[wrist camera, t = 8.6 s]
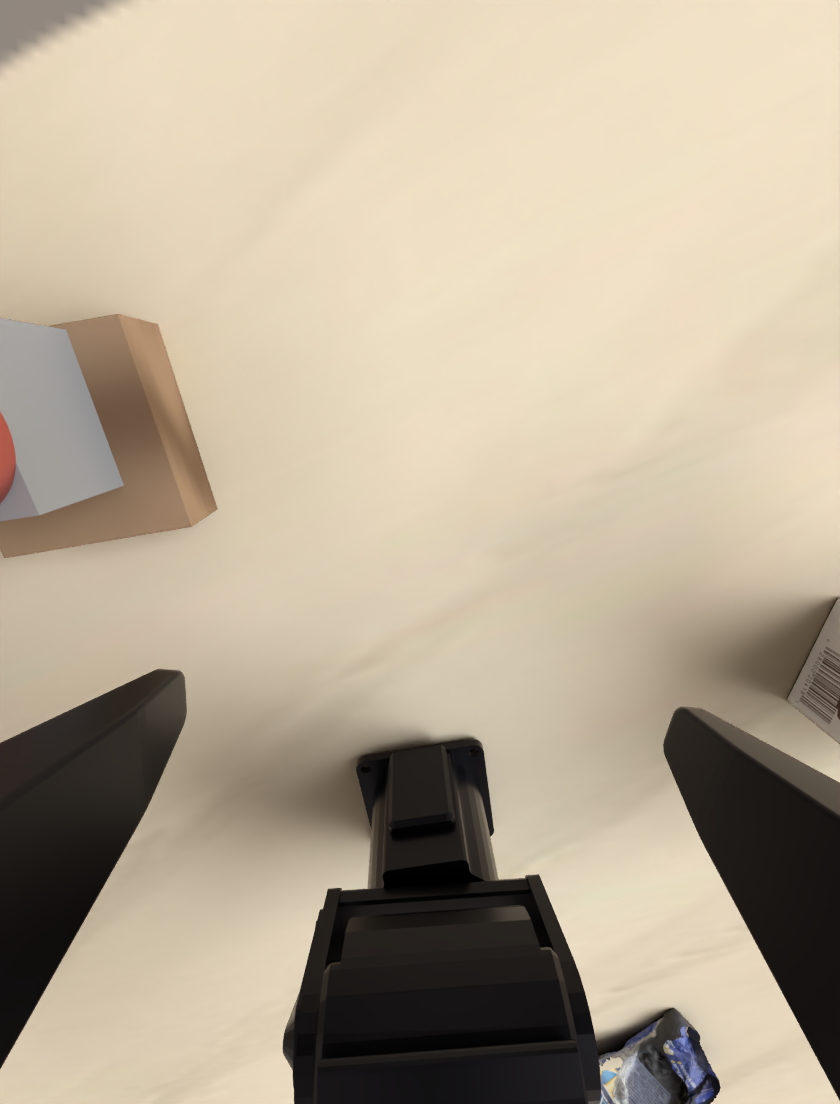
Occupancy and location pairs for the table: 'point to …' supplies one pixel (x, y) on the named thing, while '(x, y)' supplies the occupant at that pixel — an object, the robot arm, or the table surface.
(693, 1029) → the snack package
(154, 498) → the walnut slab
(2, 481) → the red cylinder
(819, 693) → the coffee box
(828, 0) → the table surface
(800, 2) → the table surface
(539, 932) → the robot arm
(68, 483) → the grey block
